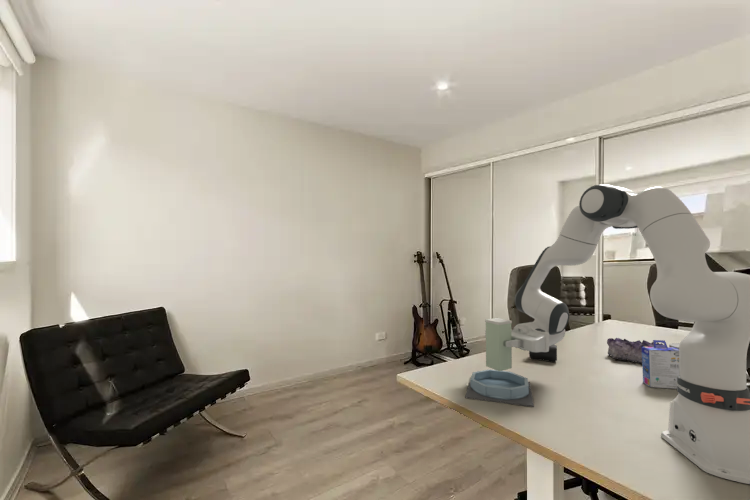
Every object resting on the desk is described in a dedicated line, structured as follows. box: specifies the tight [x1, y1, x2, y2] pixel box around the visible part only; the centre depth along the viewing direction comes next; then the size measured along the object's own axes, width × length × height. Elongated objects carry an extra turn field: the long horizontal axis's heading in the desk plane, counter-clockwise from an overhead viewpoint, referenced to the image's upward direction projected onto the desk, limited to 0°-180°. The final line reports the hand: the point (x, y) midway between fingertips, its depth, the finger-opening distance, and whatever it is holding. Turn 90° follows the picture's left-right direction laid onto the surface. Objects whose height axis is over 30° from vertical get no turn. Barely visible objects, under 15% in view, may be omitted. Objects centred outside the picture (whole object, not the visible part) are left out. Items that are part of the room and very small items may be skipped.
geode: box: [606, 337, 664, 365], centre depth 144 cm, size 20×12×10 cm, turn 56°
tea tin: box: [484, 317, 513, 371], centre depth 114 cm, size 6×6×15 cm
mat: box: [464, 378, 535, 408], centre depth 114 cm, size 20×19×1 cm
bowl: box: [470, 369, 529, 400], centre depth 114 cm, size 17×17×3 cm
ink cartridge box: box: [641, 339, 679, 390], centre depth 117 cm, size 10×6×14 cm, turn 78°
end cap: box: [528, 344, 558, 363], centre depth 145 cm, size 10×7×7 cm
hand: (496, 341), depth 113 cm, fingers closed on tea tin, 5 cm apart
